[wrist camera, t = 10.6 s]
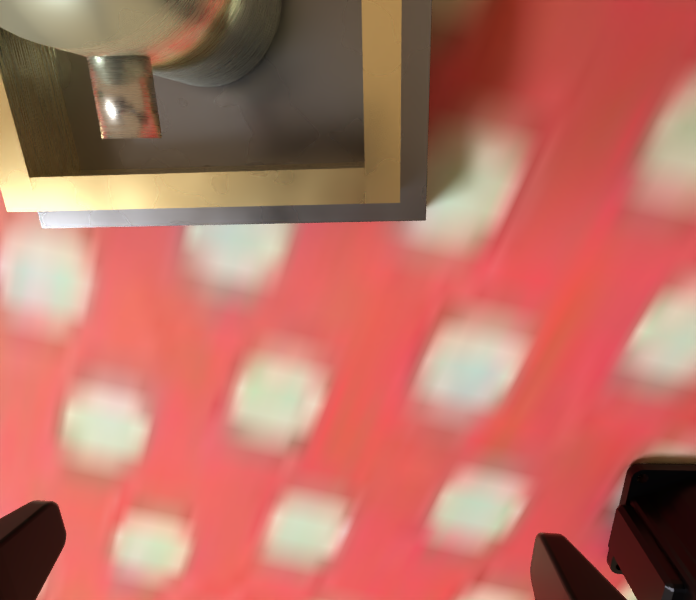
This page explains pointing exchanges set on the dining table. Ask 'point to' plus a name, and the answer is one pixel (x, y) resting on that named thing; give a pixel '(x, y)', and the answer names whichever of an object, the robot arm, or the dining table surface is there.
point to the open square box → (234, 130)
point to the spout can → (148, 47)
